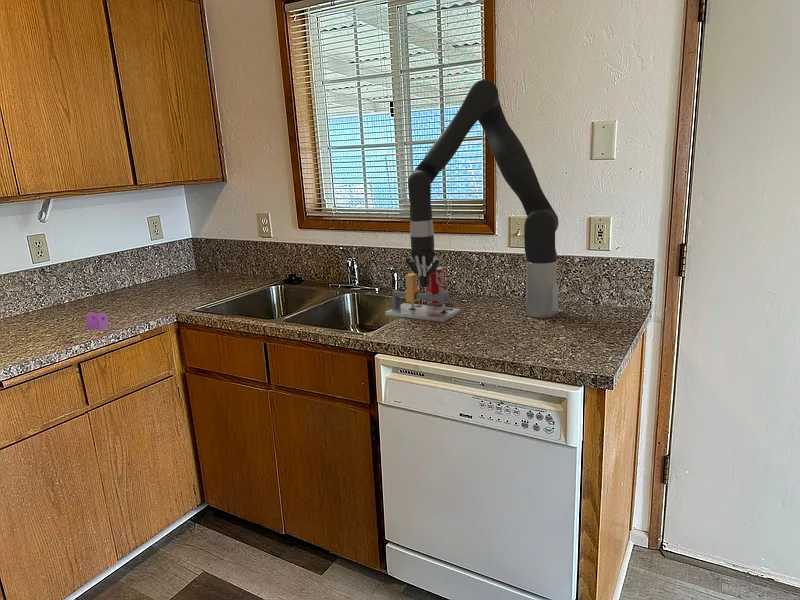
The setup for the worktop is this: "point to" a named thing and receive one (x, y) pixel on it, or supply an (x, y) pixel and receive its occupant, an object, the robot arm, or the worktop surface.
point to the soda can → (436, 285)
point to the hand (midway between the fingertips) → (424, 286)
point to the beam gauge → (441, 298)
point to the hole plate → (423, 312)
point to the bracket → (97, 321)
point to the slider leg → (411, 288)
